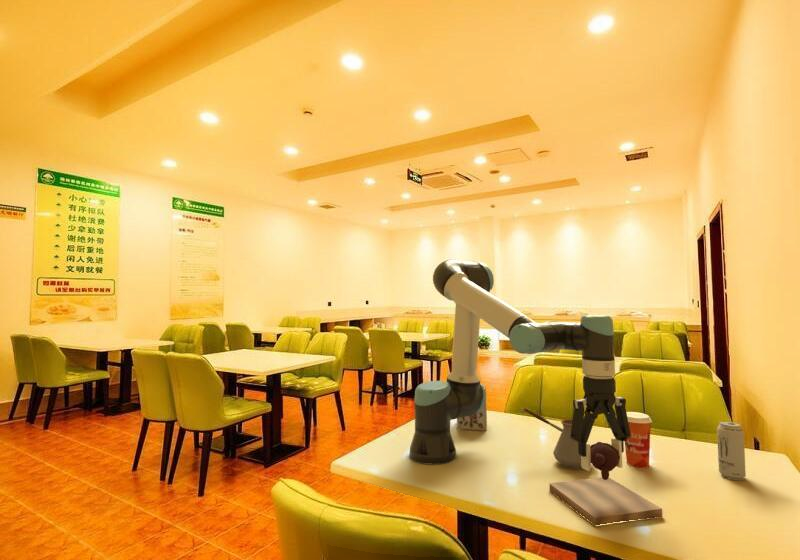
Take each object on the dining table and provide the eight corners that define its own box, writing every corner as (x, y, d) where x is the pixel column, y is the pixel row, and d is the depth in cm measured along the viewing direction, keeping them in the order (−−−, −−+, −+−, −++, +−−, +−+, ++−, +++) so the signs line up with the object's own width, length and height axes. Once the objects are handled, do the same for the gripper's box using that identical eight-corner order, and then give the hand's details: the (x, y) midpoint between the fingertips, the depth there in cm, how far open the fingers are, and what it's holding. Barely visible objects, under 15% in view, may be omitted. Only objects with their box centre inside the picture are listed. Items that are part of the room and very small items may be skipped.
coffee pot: (596, 462, 129) (595, 414, 130) (589, 475, 120) (587, 423, 121) (529, 448, 142) (528, 404, 142) (517, 459, 132) (516, 411, 133)
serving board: (595, 526, 93) (595, 517, 93) (549, 490, 110) (549, 483, 110) (662, 517, 96) (662, 508, 97) (607, 484, 114) (607, 476, 114)
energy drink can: (713, 472, 121) (711, 421, 122) (731, 471, 122) (729, 420, 123) (732, 481, 115) (730, 427, 116) (751, 480, 116) (749, 426, 117)
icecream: (586, 432, 112) (580, 456, 98) (615, 429, 108) (613, 453, 95) (594, 458, 111) (589, 485, 98) (624, 456, 107) (623, 484, 94)
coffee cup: (619, 464, 128) (617, 415, 128) (626, 456, 134) (625, 409, 135) (650, 471, 122) (648, 420, 123) (656, 463, 128) (654, 414, 129)
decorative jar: (458, 421, 174) (458, 378, 175) (486, 422, 172) (486, 379, 173) (456, 429, 162) (456, 383, 163) (486, 431, 160) (486, 384, 161)
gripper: (571, 380, 99) (574, 477, 98) (645, 376, 104) (649, 469, 102) (553, 375, 106) (555, 465, 105) (623, 371, 111) (626, 458, 110)
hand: (601, 467), depth 104 cm, fingers closed on icecream, 8 cm apart
